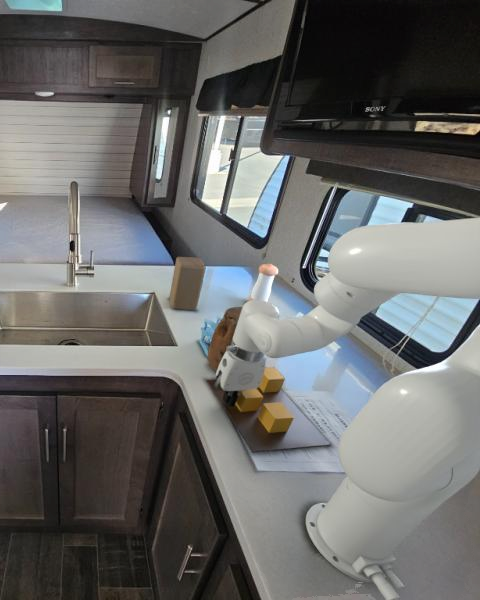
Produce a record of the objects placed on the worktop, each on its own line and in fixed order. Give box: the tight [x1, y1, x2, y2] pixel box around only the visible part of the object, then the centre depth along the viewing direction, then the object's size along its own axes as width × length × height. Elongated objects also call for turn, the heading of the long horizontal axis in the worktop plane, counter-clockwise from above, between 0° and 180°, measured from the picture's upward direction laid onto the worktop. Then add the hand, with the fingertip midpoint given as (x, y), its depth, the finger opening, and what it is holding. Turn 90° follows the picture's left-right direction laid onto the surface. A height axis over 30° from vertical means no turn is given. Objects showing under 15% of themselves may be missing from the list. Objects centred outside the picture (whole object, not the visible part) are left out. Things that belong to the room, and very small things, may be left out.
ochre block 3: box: [258, 402, 294, 433], centre depth 81 cm, size 5×5×5 cm
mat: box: [206, 378, 332, 453], centre depth 87 cm, size 24×20×1 cm
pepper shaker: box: [247, 263, 279, 303], centre depth 132 cm, size 7×7×19 cm
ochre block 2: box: [259, 366, 286, 393], centre depth 93 cm, size 5×5×5 cm
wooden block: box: [168, 256, 207, 311], centre depth 131 cm, size 10×10×20 cm
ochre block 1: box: [236, 389, 263, 412], centre depth 87 cm, size 5×5×5 cm
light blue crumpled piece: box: [199, 316, 223, 357], centre depth 107 cm, size 8×8×12 cm
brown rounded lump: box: [207, 306, 243, 372], centre depth 97 cm, size 11×8×20 cm
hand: (228, 402), depth 87 cm, fingers closed
